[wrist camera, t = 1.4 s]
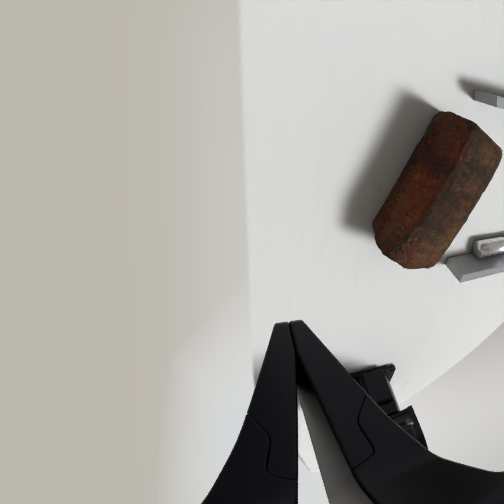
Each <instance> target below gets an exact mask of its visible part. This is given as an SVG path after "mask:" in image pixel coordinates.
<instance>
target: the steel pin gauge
mask: <svg viewBox="0 0 504 504" xmlns="http://www.w3.org/2000/svg"><path fill="white" fill-rule="evenodd" d="M473 253H474V255H475V257H476V258H482V257H487V256H492V255H497V254H501V253H504V236H503V237H497V238H490V239H484V240H478V241H475V242H474V244H473Z"/></svg>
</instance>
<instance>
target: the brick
mask: <svg viewBox="0 0 504 504" xmlns="http://www.w3.org/2000/svg"><path fill="white" fill-rule="evenodd" d="M501 158H502V150H501V148H500V147H499V146H498V145H497V144H496V143H495V142H494V141H493V140H492V139H491V138H490V137H489V136H488V135H487V134H486V133H485V132H484V131H483V130H482V129H481V128H480V127H479V126H478V125H477V124H476V123H474V122H473V121H471V120H468V119H465V118H462V117H461V116H459V115H458V116H457V115H456V114H455V113H452V112H450V111H449V112H439V113H438V114H436V115H435V116H434V117H433V119H432V122H431V123H430V124H429V126H428V129H427V132H426V134H425V136H424V137H423V138H422V140H421V142H420V143H419V144H418V145H417V146H416V148H415V150H414V153H413V155H412V156H411V158H410V160H409V162H408V164H407V165H406V167H405V168H404V170H403V172H402V174H401V176H400V178H399V179H398V181H397V183H396V184H395V186H394V188H393V189H392V191H391V193H390V195H389V196H388V198H387V200H386V201H385V203H384V205H383V207H382V208H381V210H380V212H379V213H378V215H377V217H376V218H375V220H374V221H373V229H374V232H375V241H376V244H377V246H378V248H379V249H380V250H381V251H382V253H383V255H385V256H387V257H388V258H389V259H391V260H393V261H394V262H397V263H398V264H399V265H401V266H402V267H403V268H406V269H419V268H430V267H433V266H434V265H435V264H436V263H437V262H438V261H439V260H440V258H441V257H442V256H443V254H444V253H445V251H446V250H447V249H448V247H449V246H450V244H451V243H452V241H453V239H454V238H455V237H456V235H457V234H458V232H459V231H460V229H461V228H462V226H463V225H464V223H465V222H466V221H467V219H468V217H469V215H470V213H471V212H472V210H473V209H474V207H475V205H476V204H477V202H478V201H479V199H480V197H481V195H482V193H483V192H484V191H485V189H486V187H487V186H488V184H489V182H490V181H491V179H492V177H493V175H494V173H495V171H496V169H497V168H498V165H499V163H500V161H501Z"/></svg>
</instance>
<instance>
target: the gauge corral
mask: <svg viewBox="0 0 504 504" xmlns="http://www.w3.org/2000/svg"><path fill="white" fill-rule="evenodd" d="M474 100H476V101H479V102H482V103H486V104H489V105H492V106H495V107H498V108H502V109H504V97H501V96H498V95H494V94H490V93H486V92H482V91H477V90H474ZM446 266H447V267H448V268H449V269H450V271H451V272H452V273H453V274H454V276H455V277H456V278H457V279H458V281H459V282H464V281H469V280H473V279H477V278H481V277H485V276H489V275H493V274H496V273H500V272H504V253H501V254H497V255H492V256H487V257H482V258H476V257H475V255H474V253H471V254H466V255H460V256H455V257H449V258H448V259H447V262H446Z"/></svg>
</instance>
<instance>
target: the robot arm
mask: <svg viewBox="0 0 504 504" xmlns="http://www.w3.org/2000/svg"><path fill="white" fill-rule="evenodd" d="M395 369H396V368H395V366H394V365H390V366H386V367H382V368H378V369H374V370H369V371H365V372H360V373H356V374H351V375H350V374H349V373H348V371H347V370H346V369H345V368H344V367H343V366H342V365H341V364H340V362H339V361H338V360H337V359H336V358H335V357H334V356H333V354H332V353H331V352H330V351H329V350H328V349H327V348H326V347H325V345H324V344H323V343H322V342H321V341H320V340H319V339H318V337H317V336H316V335H315V334H314V333H313V332H312V331H311V329H310V328H309V327H308V326H307V325H306V324H305V323H304V322H303V321H302V320H296V321H290V322H289V323H288V322H281V323H276V324H275V325H274V328H273V331H272V335H271V338H270V341H269V345H268V348H267V351H266V355H265V358H264V361H263V364H262V368H261V371H260V374H259V377H258V380H257V383H256V387H255V390H254V393H253V396H252V400H251V403H250V405H249V409H248V411H247V415H246V417H245V420H244V423H243V426H242V429H241V431H240V434H239V436H238V439H237V441H236V443H235V445H234V448H233V450H232V452H231V454H230V456H229V458H228V460H227V462H226V463H225V465H224V467H223V469H222V471H221V473H220V474H219V476H218V478H217V480H216V482H215V483H214V485H213V487H212V489H211V490H210V492H209V493H208V495H207V496H206V498H205V499H204V501H203V502H202V503H201V504H298V402H297V393H298V396H299V400H300V403H301V407H302V410H303V413H304V417H305V420H306V424H307V427H308V431H309V434H310V438H311V441H312V445H313V448H314V452H315V455H316V459H317V462H318V466H319V469H320V473H321V476H322V480H323V483H324V487H325V490H326V493H327V497H328V499H329V500H328V501H329V504H504V471H503V472H492V471H487V470H483V469H479V468H475V467H471V466H468V465H464V464H461V463H457V462H454V461H450V460H447V459H444V458H441V457H439V456H437V455H435V454H433V453H432V452H430V451H429V450H428V447H427V444H426V440H425V438H424V435H423V432H422V429H421V427H420V424H419V422H418V420H417V417H416V415H415V413H414V410H413V408H412V406H408V407H407V408H406V409H404V410H402V411H400V409H399V406H398V403H397V401H396V398H395V395H394V393H393V390H392V388H391V385H390V383H389V382H390V380H391V378H392V376H393V374H394V371H395ZM410 423H411V424H410ZM408 424H409V425H408Z"/></svg>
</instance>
